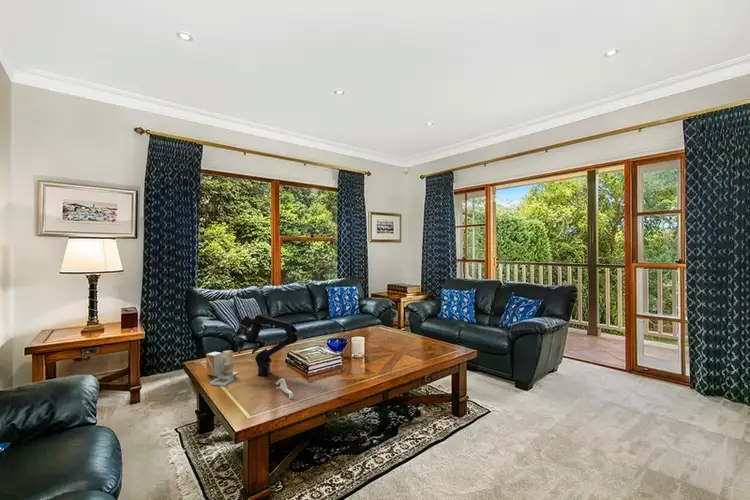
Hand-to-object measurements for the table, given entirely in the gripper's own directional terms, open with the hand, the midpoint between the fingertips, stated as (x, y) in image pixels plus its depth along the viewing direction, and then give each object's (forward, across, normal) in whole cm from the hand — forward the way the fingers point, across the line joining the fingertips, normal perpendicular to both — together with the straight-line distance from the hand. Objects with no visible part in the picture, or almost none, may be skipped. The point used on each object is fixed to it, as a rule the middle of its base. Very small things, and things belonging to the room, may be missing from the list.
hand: (245, 353), depth 227 cm
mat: (+15, +7, +2) cm, 16 cm away
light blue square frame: (+13, +14, +11) cm, 22 cm away
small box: (+18, +12, -4) cm, 22 cm away
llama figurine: (-4, -4, +46) cm, 46 cm away
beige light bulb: (+14, +7, +1) cm, 16 cm away
